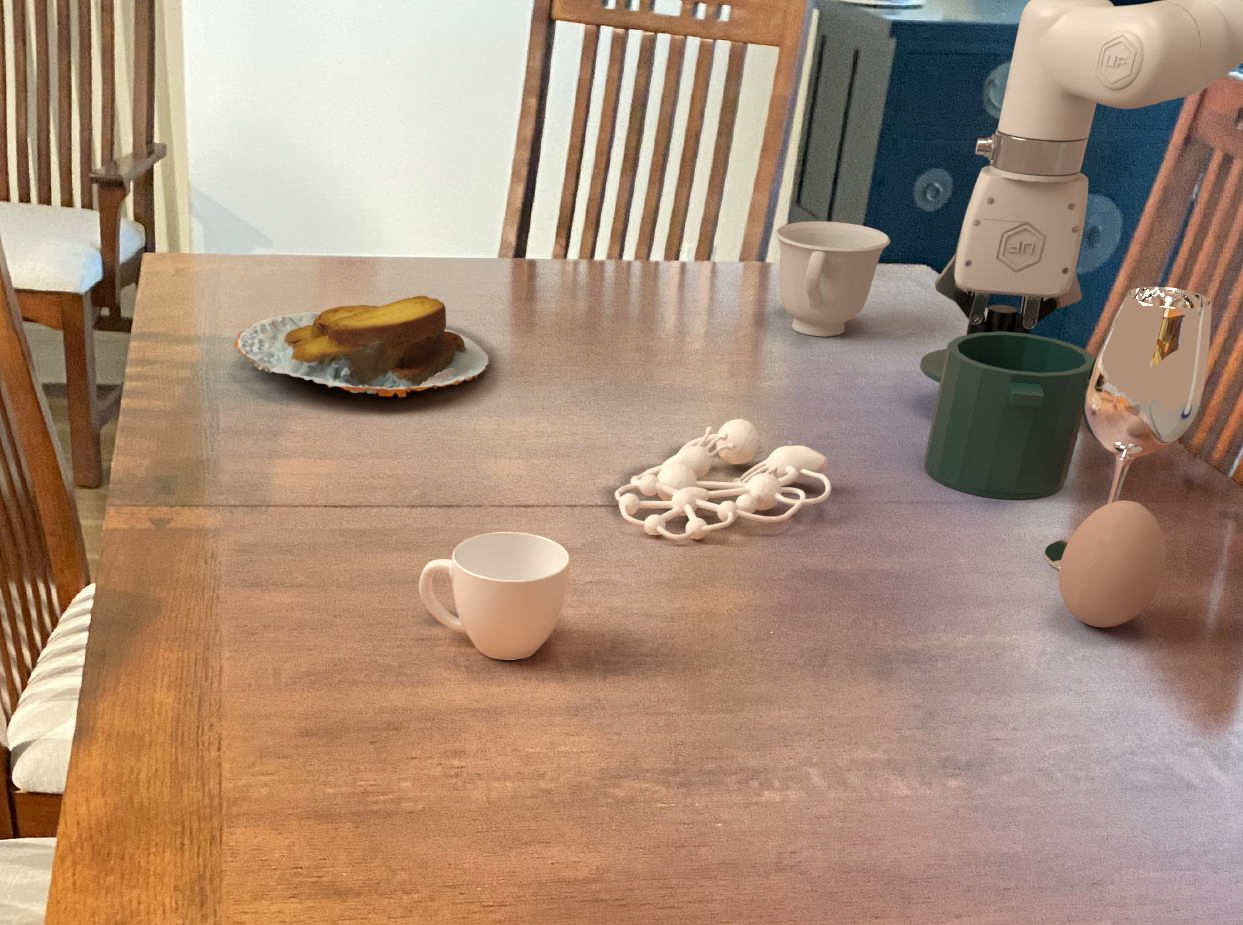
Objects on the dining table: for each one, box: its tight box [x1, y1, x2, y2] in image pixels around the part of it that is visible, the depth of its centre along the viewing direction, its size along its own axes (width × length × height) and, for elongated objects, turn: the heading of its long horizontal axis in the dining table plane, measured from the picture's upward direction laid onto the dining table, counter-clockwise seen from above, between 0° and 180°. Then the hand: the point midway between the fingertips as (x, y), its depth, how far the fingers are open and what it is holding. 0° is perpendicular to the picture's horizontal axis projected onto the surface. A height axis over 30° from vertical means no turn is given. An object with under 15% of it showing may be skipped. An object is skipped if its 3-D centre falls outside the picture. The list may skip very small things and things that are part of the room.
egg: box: [1058, 500, 1167, 629], centre depth 104 cm, size 7×7×9 cm
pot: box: [924, 331, 1095, 500], centre depth 127 cm, size 12×17×10 cm
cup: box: [418, 531, 571, 659], centre depth 101 cm, size 8×10×7 cm
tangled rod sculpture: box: [614, 418, 832, 541], centre depth 122 cm, size 19×14×4 cm
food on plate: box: [233, 295, 490, 398], centre depth 149 cm, size 26×25×7 cm
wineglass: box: [1043, 286, 1213, 570], centre depth 110 cm, size 8×8×20 cm
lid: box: [919, 304, 1019, 384], centre depth 140 cm, size 13×13×7 cm
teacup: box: [774, 220, 891, 338], centre depth 161 cm, size 12×15×10 cm
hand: (990, 364), depth 141 cm, fingers closed on lid, 2 cm apart
